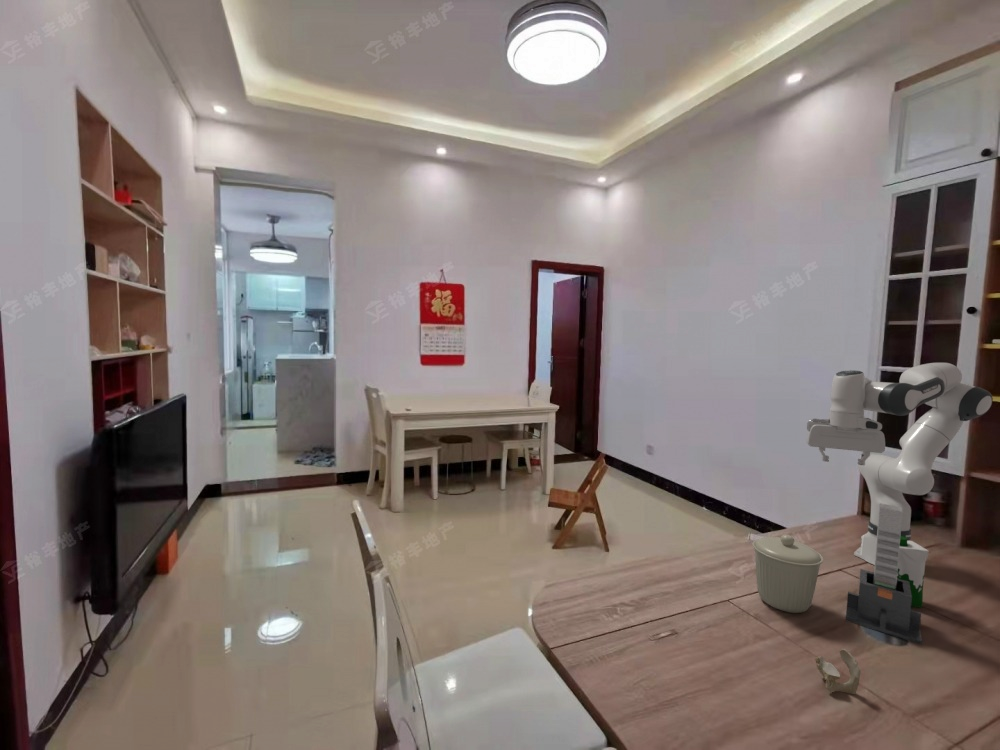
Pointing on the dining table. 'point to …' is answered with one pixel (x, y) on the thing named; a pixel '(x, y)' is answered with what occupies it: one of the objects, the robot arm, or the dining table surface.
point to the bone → (832, 673)
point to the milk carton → (912, 568)
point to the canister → (786, 572)
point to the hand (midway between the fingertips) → (843, 463)
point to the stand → (884, 608)
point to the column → (887, 546)
